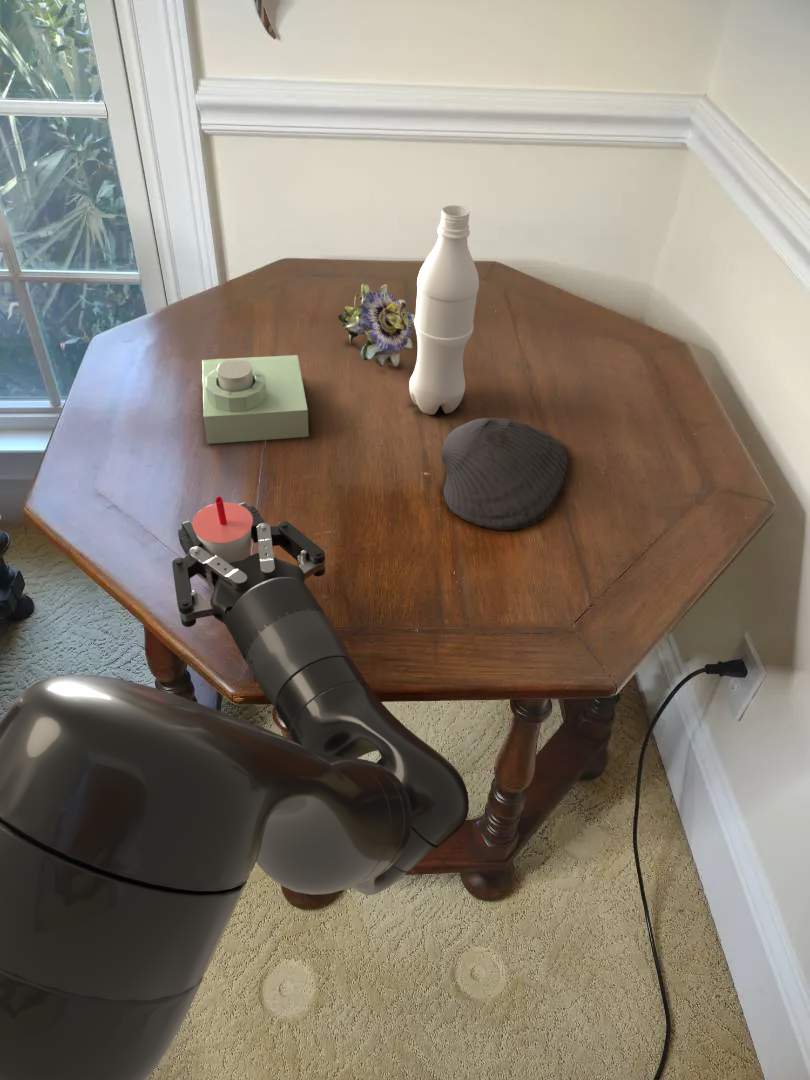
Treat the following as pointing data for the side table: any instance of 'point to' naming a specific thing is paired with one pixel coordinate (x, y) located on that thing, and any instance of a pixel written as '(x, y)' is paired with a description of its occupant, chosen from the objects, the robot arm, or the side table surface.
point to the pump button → (235, 375)
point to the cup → (224, 530)
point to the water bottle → (444, 315)
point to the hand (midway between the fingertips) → (214, 519)
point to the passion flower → (380, 325)
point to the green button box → (256, 402)
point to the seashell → (502, 473)
